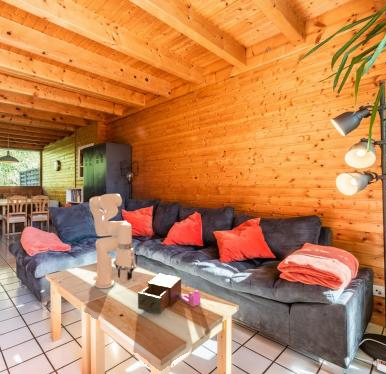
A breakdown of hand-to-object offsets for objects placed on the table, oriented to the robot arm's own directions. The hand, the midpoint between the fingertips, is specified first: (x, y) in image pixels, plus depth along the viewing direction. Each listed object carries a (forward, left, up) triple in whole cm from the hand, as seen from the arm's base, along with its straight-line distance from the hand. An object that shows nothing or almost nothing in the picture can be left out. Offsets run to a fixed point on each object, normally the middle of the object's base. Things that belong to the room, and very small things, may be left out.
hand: (124, 277), depth 142 cm
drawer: (+16, +4, -15) cm, 22 cm away
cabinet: (+16, +19, -16) cm, 30 cm away
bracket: (+30, +22, -16) cm, 40 cm away
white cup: (0, 0, -1) cm, 1 cm away
